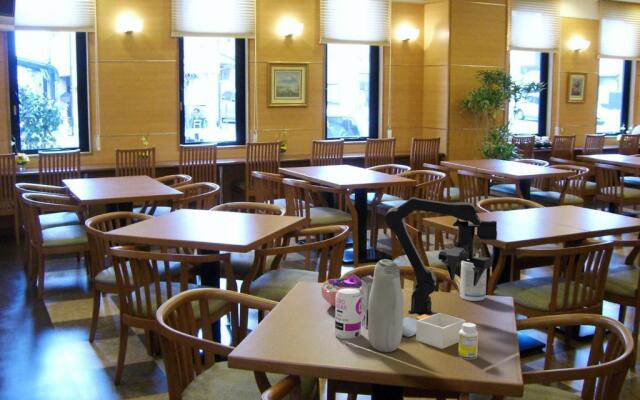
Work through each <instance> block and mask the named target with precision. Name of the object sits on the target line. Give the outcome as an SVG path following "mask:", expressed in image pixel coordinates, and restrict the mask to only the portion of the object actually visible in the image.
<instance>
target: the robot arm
mask: <svg viewBox="0 0 640 400" xmlns="http://www.w3.org/2000/svg"><path fill="white" fill-rule="evenodd" d="M414 211H422V212H429V213H436V214H441V215H442V214H443V215H448V216H451V217H452V218H453V217H454V218H456V220H455V221H454V222H452V227H457V238H456V239H457V241H454V246H453V248H450V249H444V250H439V252H438V256H437V257H438V258H437V259H438V260H440V261H441V263H443V264H444V265H445V266H446V268H447V270H448V274H449V277H450V281H452V282H453V281H454V280H455V276H456V269H457V265H459V264H461V263H462V261H464V262H469V263H473V265H474V266H475V267H474V268H473V270H474V281H473V283H474V286H476V285H477V283H478V281H479V279H480V277H481V275H482V274H483V272H484V271H485V269H487V270H488V269H489V268H490V267H491V268H492V267H493V260H492V258H491V257H486V256H479V257H476V255H477V254H476V253H475V251H474V250H475V249H474V248H475V246H476V245H477V241H475V236H476V238H478V239H479V241H490V242H491V241H493V242H496V241H497V238H498V231H497V223H498V221H497V220H481V218H480V217H479V215H478V214H477V210H476V207H475V205H474V204H473V203H472V202H469V201H458V202H445V201H439V200H438V201H437V200H433V199H431V200H430V199H425V198H420V197H419V198H418V197H415V196H413V197H410V198H409V199H408V200H407V201H406V202H403V203H402V204H401V205H399V206H397V208H395V207H394V208H390V209H389V210H388V211H387V213H386V214H385V218H384V221H385V224H386V225H387V226H388V228H389V229H390V231H392V233H393V234H394V235H395V236H396V238H397V239H398V242H399V243H400V245H401V247H402V249H403V251H404V253H405V256H406V257H407V259H408V261H409V263H410V266H411V268H412V269H413V271H414V275H415V279H416V283H417V284H415V285H414V286H413V290H412V294H411V299H410V300H411V301H410V303H411V304H410V310H408V311H407V312H408V313H409V314H413V315H414V314H416V315H418V316H421V315H424V314H426V315H432V314H433V313H434V312H433V310H432V304H433V303H432V297H431V296H430V295H432V294H433V293H434V292H435V290H436V286H437V276H436V275H435V273H434V271H433V269H432V267H430V268H429V269H428V268H427V267H426V266H425V263H424V262H423V260H422V258H421V257H420V254H419V252H418V250H417V248H416V246H415V244H414V242H413V240H412V238H411V235H410V233H409V232H408V229H407V224H406V221H405V218H406V217H407V216H408V215H410V214H411V213H412V212H414ZM469 222H470V223H469ZM475 233H476V235H475ZM467 259H469V260H467Z"/></svg>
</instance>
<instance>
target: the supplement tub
mask: <svg viewBox="0 0 640 400" xmlns="http://www.w3.org/2000/svg"><path fill="white" fill-rule="evenodd" d="M467 260H469V259H467ZM460 264H461V265H460V288H459V290H460V292H459V297H460V298H461V299H463V300H465V301H470V302H478V301H483V300H485V299H486V297H487V295H486V293H487V291H486V290H487V273H488V272H487V270H488V268H487V269H485V271H484V272H483V274H482V275H481V277H480V279H479V281H478V283H477V285H476V286H474V283H473V281H474V270H473V268H474V267H475V266H474V265H473V263H469V262H464V261H461V263H460Z"/></svg>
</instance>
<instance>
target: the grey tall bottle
mask: <svg viewBox="0 0 640 400" xmlns="http://www.w3.org/2000/svg"><path fill="white" fill-rule="evenodd" d="M373 277H374V278H373V284H372V287H371V291H370V295H369V305H368V329H367V335H368V341H369V342H370V345H371V347H372V348H373V349H374V350H376V351H378V352H381V353H392V352H393V351H396V350H397V349H398V348H399V346H400V344H401V341H402V337H403V335H402V326H403V318H404V305H405V304H404V303H405V302H404V295H403V294H404V293H403V290H402V286H401V285H402V284H401V278H400V267H399V265H398V264H397V263H396V261H394V260H391V259H386V258H384V259H380V260H379V261H377V262H376V264H375V266H374V272H373Z"/></svg>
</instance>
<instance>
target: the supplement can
mask: <svg viewBox="0 0 640 400" xmlns="http://www.w3.org/2000/svg"><path fill="white" fill-rule="evenodd" d="M361 304H362V295H361V293H360V290H358V289H355V288H341V289H339V290H338V292H337V293H336V307H335V314H334V315H335V316H334V319H335V320H334V335H335V336H336V337H337V338H338V339H341V340H342V339H344V340H345V339H348V340H351V339H357V338H359V337H360V336H361V333H362V330H361V329H362V324H361Z"/></svg>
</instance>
